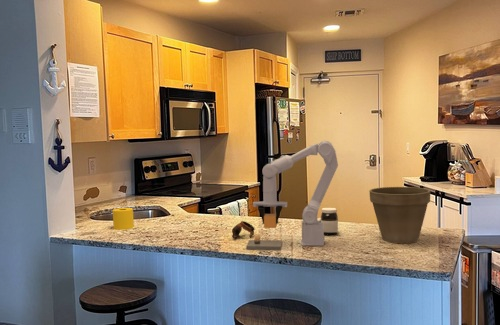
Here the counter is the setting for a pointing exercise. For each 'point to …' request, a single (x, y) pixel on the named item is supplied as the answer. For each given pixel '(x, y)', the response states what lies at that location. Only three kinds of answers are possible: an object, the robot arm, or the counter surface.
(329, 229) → the spread jar
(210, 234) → the counter surface
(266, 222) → the solid orange cube
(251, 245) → the grey flat block
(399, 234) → the plant pot
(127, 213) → the yellow toilet paper roll
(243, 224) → the brown curved arch
